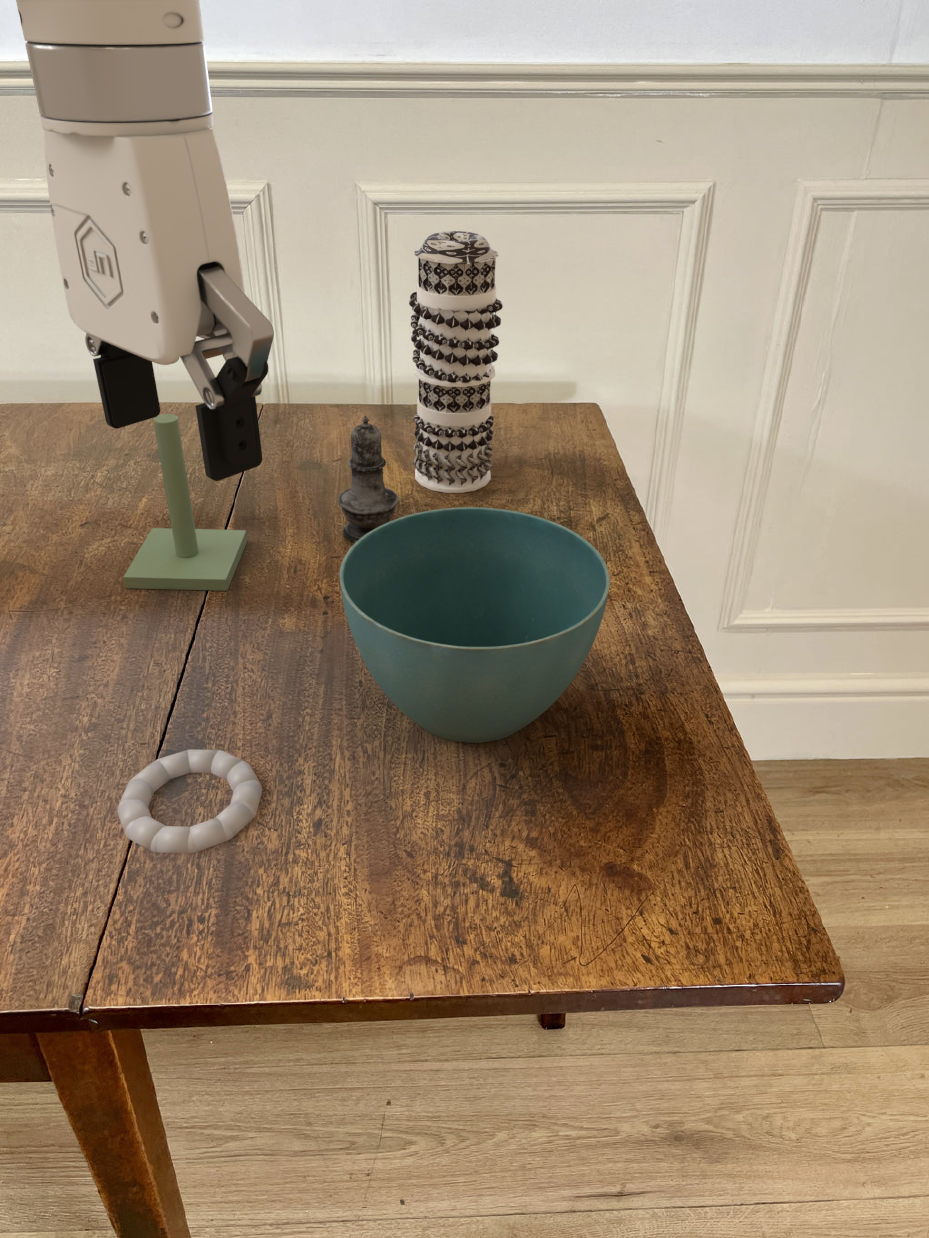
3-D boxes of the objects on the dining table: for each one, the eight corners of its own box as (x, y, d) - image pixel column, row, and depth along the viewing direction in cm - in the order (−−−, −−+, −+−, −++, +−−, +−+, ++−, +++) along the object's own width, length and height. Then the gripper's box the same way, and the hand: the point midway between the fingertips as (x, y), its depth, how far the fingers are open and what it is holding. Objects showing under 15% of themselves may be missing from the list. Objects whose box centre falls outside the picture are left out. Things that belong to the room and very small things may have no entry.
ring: (103, 861, 58) (97, 840, 57) (144, 762, 65) (140, 742, 64) (247, 864, 58) (244, 843, 57) (272, 765, 65) (270, 745, 64)
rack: (125, 588, 83) (93, 438, 75) (154, 538, 91) (128, 397, 83) (227, 591, 83) (206, 441, 75) (247, 541, 91) (230, 399, 83)
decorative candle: (467, 502, 98) (474, 252, 84) (394, 480, 102) (389, 238, 88) (509, 471, 105) (523, 235, 91) (440, 452, 109) (442, 222, 95)
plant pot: (526, 832, 60) (538, 681, 53) (297, 736, 67) (283, 592, 61) (627, 682, 74) (648, 546, 67) (428, 616, 81) (428, 486, 74)
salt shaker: (327, 534, 92) (319, 418, 85) (364, 512, 96) (360, 399, 89) (374, 552, 89) (370, 434, 83) (411, 528, 94) (410, 413, 87)
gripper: (-43, 81, 45) (41, 421, 54) (156, 113, 35) (216, 519, 45) (101, 74, 50) (156, 389, 59) (312, 101, 40) (337, 472, 49)
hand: (182, 445), depth 52 cm, fingers open, 9 cm apart
